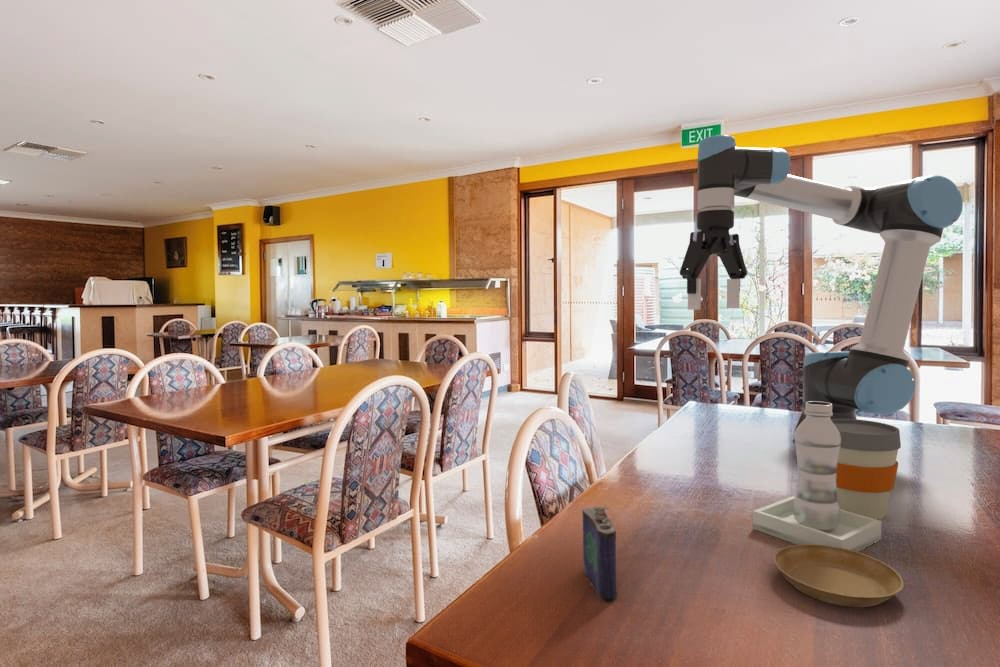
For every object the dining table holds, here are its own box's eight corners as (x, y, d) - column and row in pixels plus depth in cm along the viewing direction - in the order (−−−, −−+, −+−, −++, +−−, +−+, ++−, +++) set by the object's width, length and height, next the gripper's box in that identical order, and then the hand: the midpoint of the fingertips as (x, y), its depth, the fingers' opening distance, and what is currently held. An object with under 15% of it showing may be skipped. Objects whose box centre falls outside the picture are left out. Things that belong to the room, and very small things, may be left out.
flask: (580, 569, 83) (580, 495, 82) (600, 568, 83) (600, 493, 83) (600, 604, 74) (600, 520, 73) (623, 602, 74) (623, 519, 73)
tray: (793, 512, 103) (793, 495, 103) (881, 540, 91) (881, 521, 91) (752, 528, 96) (753, 510, 96) (842, 560, 85) (842, 540, 84)
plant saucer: (932, 605, 73) (933, 585, 73) (838, 626, 68) (838, 604, 68) (832, 555, 87) (833, 538, 87) (749, 570, 83) (749, 552, 82)
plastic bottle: (846, 537, 90) (850, 407, 89) (798, 534, 91) (801, 406, 90) (831, 521, 96) (835, 400, 95) (787, 518, 98) (790, 399, 96)
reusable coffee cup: (870, 529, 95) (873, 438, 94) (799, 505, 106) (801, 423, 105) (914, 515, 101) (917, 429, 100) (842, 493, 112) (844, 415, 111)
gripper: (734, 216, 138) (733, 307, 139) (662, 208, 124) (662, 310, 125) (764, 212, 132) (762, 307, 133) (692, 204, 118) (691, 310, 119)
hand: (714, 309), depth 129 cm, fingers open, 13 cm apart
